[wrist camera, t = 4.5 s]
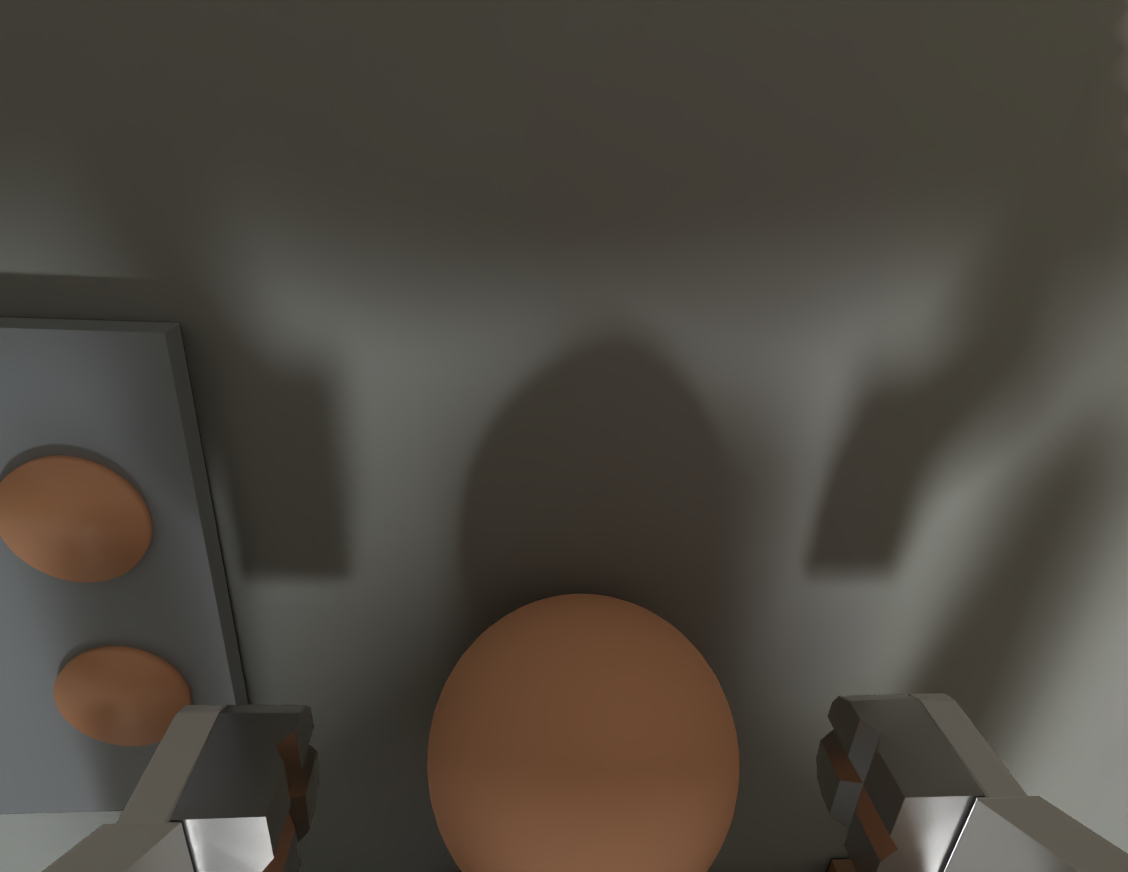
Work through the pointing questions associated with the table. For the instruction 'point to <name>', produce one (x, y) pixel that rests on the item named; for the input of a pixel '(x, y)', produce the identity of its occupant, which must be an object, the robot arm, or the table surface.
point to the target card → (102, 561)
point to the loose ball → (583, 745)
